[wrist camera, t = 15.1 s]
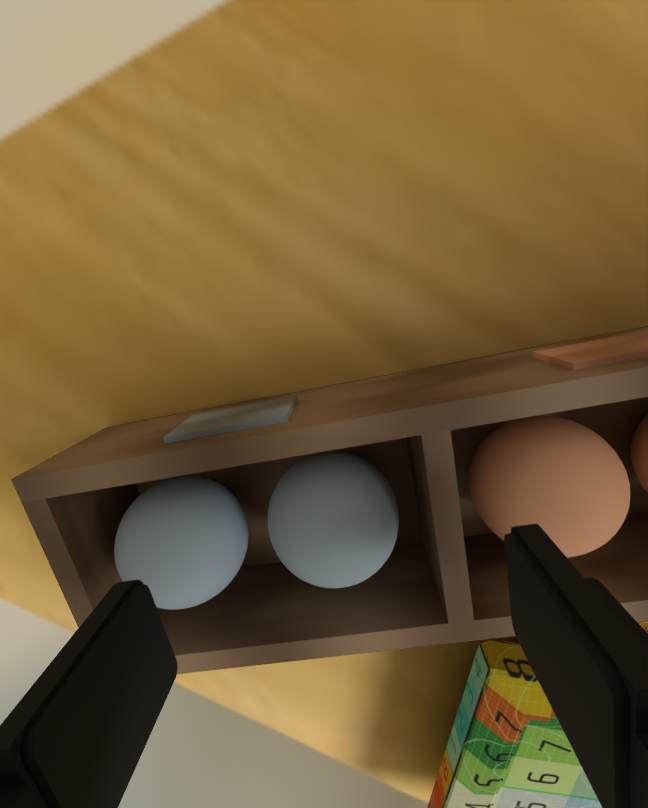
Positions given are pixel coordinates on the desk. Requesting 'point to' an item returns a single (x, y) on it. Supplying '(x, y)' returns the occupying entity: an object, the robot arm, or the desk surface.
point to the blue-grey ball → (182, 541)
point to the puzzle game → (508, 742)
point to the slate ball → (333, 519)
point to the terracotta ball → (550, 482)
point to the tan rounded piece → (641, 452)
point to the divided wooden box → (400, 465)
